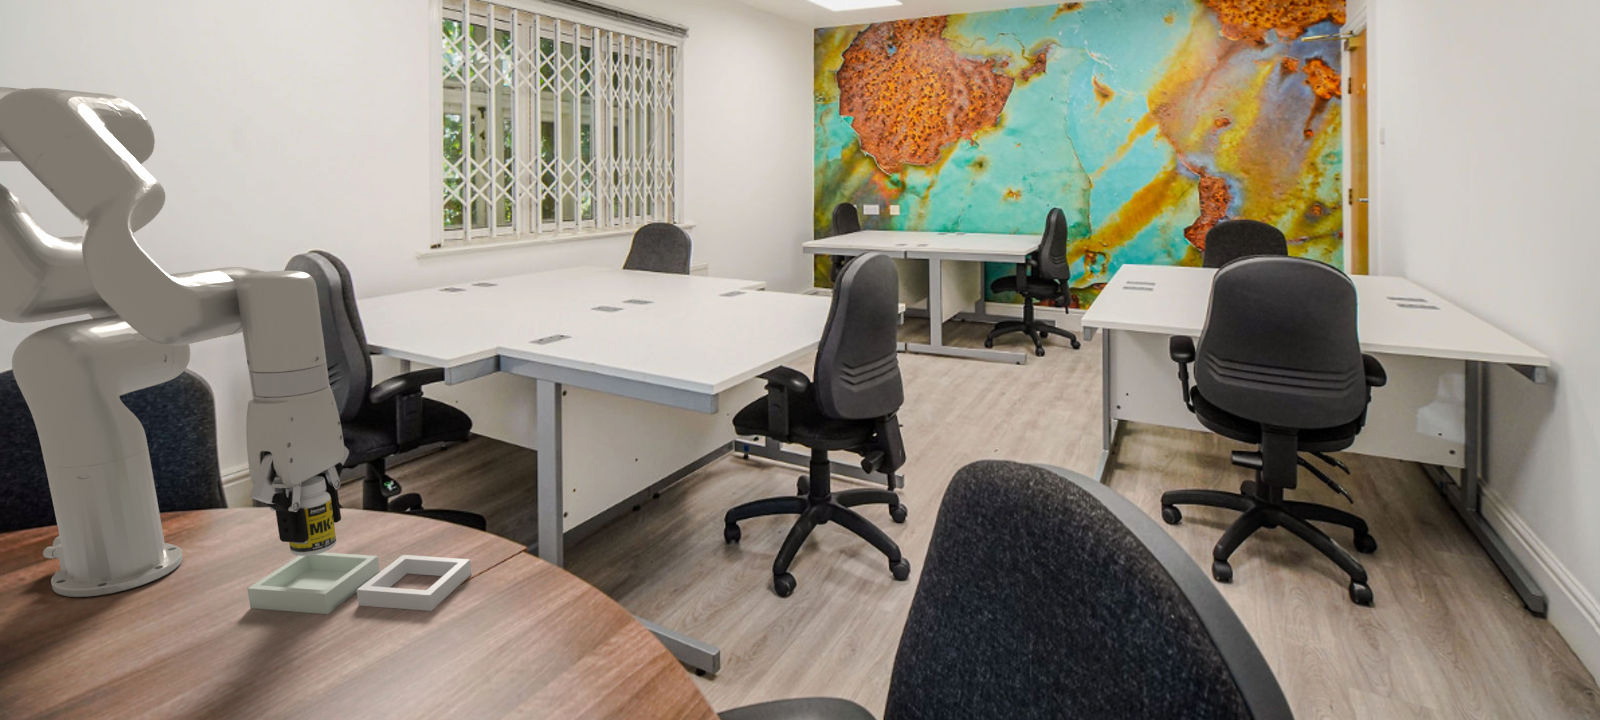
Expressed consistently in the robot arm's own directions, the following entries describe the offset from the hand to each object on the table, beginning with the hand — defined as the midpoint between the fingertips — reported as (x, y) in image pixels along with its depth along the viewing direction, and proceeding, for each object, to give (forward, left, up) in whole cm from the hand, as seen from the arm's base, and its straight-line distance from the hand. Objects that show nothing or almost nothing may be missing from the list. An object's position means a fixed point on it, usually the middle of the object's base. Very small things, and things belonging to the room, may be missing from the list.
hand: (311, 529), depth 96 cm
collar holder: (+11, +2, -8) cm, 14 cm away
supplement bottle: (0, 0, -3) cm, 3 cm away
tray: (0, 0, -8) cm, 8 cm away
